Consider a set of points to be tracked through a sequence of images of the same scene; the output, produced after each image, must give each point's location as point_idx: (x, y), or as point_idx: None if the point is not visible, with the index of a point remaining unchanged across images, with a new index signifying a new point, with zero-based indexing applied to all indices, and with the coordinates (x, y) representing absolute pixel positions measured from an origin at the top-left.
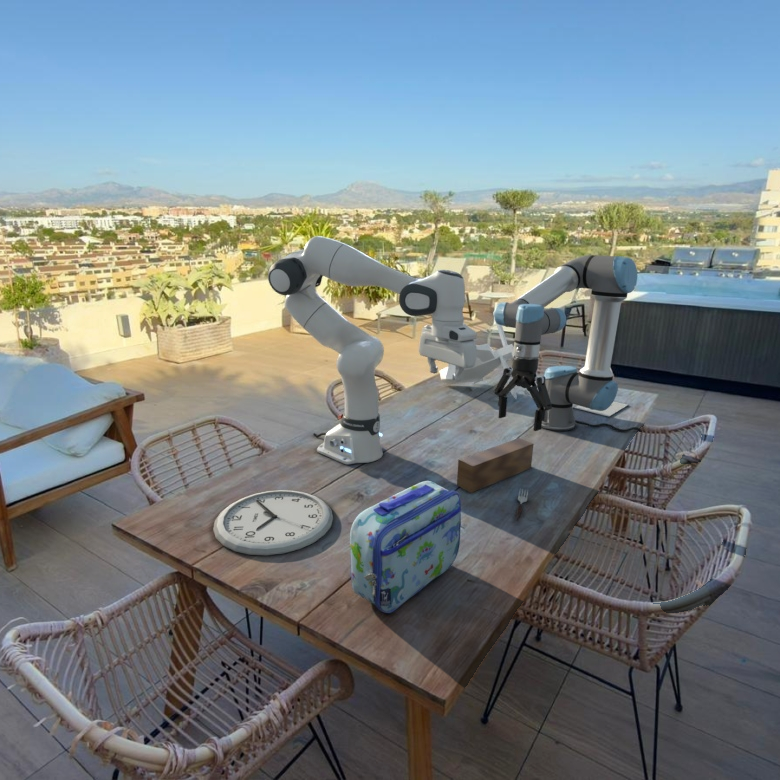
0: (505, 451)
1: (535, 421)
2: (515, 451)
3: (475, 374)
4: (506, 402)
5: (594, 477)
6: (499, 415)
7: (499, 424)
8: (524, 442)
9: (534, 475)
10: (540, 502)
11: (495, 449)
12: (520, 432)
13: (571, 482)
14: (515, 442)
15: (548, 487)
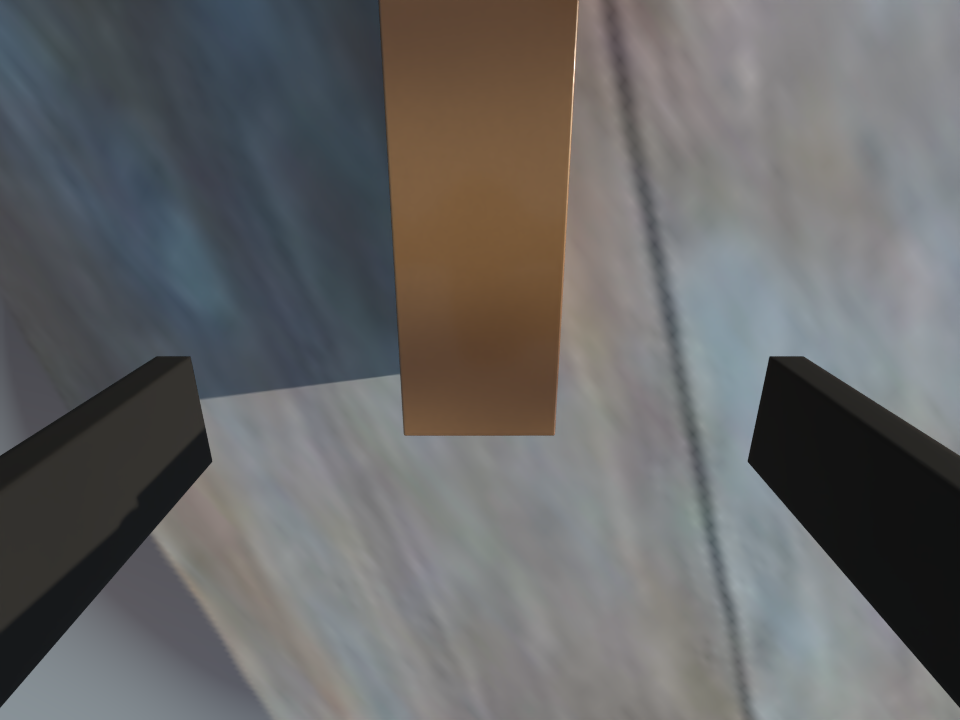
0: (424, 81)
1: (79, 418)
2: (391, 192)
3: None
4: (896, 614)
5: (167, 522)
6: (808, 369)
7: (907, 660)
8: (463, 396)
9: (345, 294)
10: (48, 6)
11: (520, 33)
12: (756, 660)
13: None
14: (510, 337)
15: (187, 231)
